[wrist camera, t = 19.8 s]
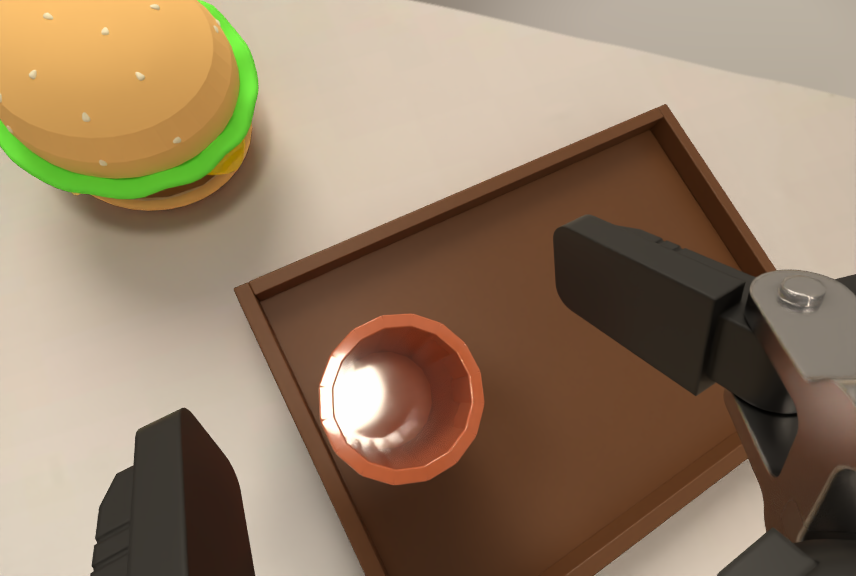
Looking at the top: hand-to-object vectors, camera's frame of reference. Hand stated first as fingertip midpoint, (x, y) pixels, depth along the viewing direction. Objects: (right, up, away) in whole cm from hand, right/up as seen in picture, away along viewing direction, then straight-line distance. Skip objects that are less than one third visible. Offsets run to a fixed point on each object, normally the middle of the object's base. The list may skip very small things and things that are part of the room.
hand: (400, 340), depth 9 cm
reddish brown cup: (-2, -5, +15) cm, 16 cm away
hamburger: (-15, +10, +17) cm, 25 cm away
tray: (+8, -2, +18) cm, 20 cm away
